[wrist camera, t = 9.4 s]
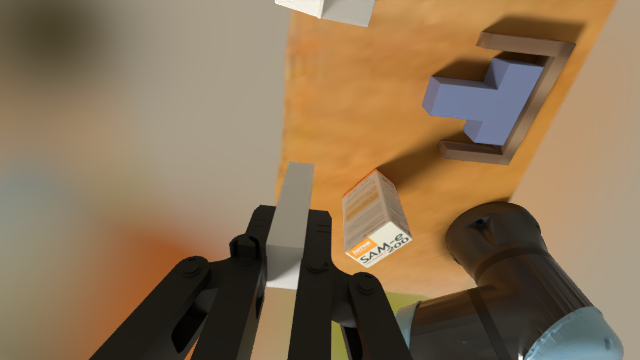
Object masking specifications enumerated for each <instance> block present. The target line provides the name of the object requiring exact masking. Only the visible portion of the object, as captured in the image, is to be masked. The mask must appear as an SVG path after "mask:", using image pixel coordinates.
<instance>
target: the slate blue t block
mask: <svg viewBox="0 0 640 360" xmlns="http://www.w3.org/2000/svg"><path fill="white" fill-rule="evenodd" d="M543 69H544V67H541V66H538V65H535V64H532V63H529V62H526V61H520V60H511V59H502V58H493V59H492V61H491V64H490V66H489V68H488V71H487V73H486V75H485V78H484V80H483V82H481V81H472V80H463V79H454V78H445V77H436V76H431V77H430V81H429V84H428V87H427V90H426V94H425V97H424V100H423V103H422V106H423V107H424V109H425V110H426V111H427V112H428V114H429V115H431V116H440V117H449V118H458V119H467V121H466V123H465V126H464V128H463V131H464V132H465V134H466V135H467V136H468V137H469V138H470V139H471V140H472V141H473V142H476V143H485V144H495V145H504V143H505V141H506V139H507V137H508V135H509V133H510V132H511V130H512V128H513V126H514V124H515V122H516V120H517V118H518V116H519V114H520V112H521V111H522V109H523V107H524V105H525V103H526V101H527V99H528V97H529V95H530V93H531V91H532V90H533V88H534V86H535V84H536V82H537V80H538V78H539V76H540V74H541V72H542V70H543Z"/></svg>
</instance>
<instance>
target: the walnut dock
mask: <svg viewBox="0 0 640 360" xmlns="http://www.w3.org/2000/svg"><path fill="white" fill-rule="evenodd" d="M477 46H480V47H483V48H486V49H492V50H501V51H509V52H518V53H527V54H536V55H538V56H537V58H536V60H535V62H534V64H535V65H538V66H541V67H544V69H543V70H542V72H541V74H540V76H539V78H538V80H537V82H536V84H535V86H534V88H533V90H532V91H531V93H530V95H529V97H528V99H527V101H526V103H525V105H524V107H523V109H522V111H521V112H520V114H519V116H518V118H517V120H516V122H515V124H514V126H513V128H512V130H511V132H510V133H509V135H508V137H507V139H506V141H505V143H504V145H495V144H493V146H490V145H480V144H471V143H462V142H453V141H443V140H440V143H439V146H438V148H437V149H438V151H439V152H440V154H441V155H442V157H443V158H444V159H453V160H462V161H472V162H481V163H490V164H500V165H509V163H510V161H511V159H512V158H513V156H514V154H515V152H516V151H517V149H518V147H519V145H520V143H521V142H522V140H523V138H524V136H525V135H526V133H527V131H528V129H529V127H530V126H531V124H532V122H533V120H534V119H535V117H536V115H537V113H538V111H539V110H540V108H541V106H542V104H543V103H544V101H545V99H546V97H547V95H548V94H549V92H550V90H551V88H552V87H553V85H554V83H555V81H556V79H557V78H558V76H559V74H560V72H561V71H562V69H563V67H564V65H565V63H566V62H567V60H568V58H569V56H570V55H571V53H572V51H573V49H574V47H575V46H576V44H575V43H569V42H564V41H558V40H549V39H541V38H532V37H523V36H514V35H505V34H497V33H488V32H481V34H480V37H479V39H478V42H477Z"/></svg>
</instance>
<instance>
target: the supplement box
mask: <svg viewBox="0 0 640 360" xmlns="http://www.w3.org/2000/svg"><path fill="white" fill-rule="evenodd" d="M342 201H343V223H344V244H345V254H347V255H348V256H350V257H352V258H353V259H355V260H356V261H358V262H359V263H360V264H362V265H364V266H365V267H367V268H369V267H370V266H372V265H373V264H375V263H376V262H378V261H379V260H381V259H383V258H384V257H386V256H387V255H389V254H390V253H392V252H394V251H395V250H397V249H398V248H400V247H402V246H403V245H405V244H406V243H408V242H409V241H411V240H413V238H412V235H411V232H410V229H409V226H408V223H407V220H406V217H405V215H404V211H403V209H402V206H401V203H400V200H399V197H398V194H397V191H396V188H395V185H394V183H393V182H391V181H390V180H389V179H388V178H386V177H385V176H384V175H383V174H382V173H381V172H379V171H378V170H377V169H374V170H373V171H372V172H371V173H370V174H368V175H367V176H366V177H365V178H364V179H362V180H361V181H360V182H359V183H358V184H357V185H355V186H354V187H353V188H352V189H351V190H350V191H348V192H347V193H346V194H345V195H344V196H343V197H342Z"/></svg>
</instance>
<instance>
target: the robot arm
mask: <svg viewBox="0 0 640 360" xmlns="http://www.w3.org/2000/svg"><path fill="white" fill-rule="evenodd" d="M313 172H314V164H306V163H296V162H289V165H288V168H287V172H286V175H285V179H284V182H283V186H282V189H281V193H280V196H279V200H278V203H277V207H276V206H266V205H260V206H259V207H257V208H256V209H255V210H254V212H253V214H252V217H251V220H250V222H249V225H248V227H247V230H246V232H245V234H241V235H238V236H237V237H235V238H234V239H232V241H231V242H230V243H229V246H230V254H231V257H230V258H227V259H225V260H221V261H215V262H208V261H207V259H205V258H204V257H201V256H193V257H188V258H186V259H183V260H182V261H180V262H179V263H178V264H177V265H176V266H175V267H174V268H173V269H172V270H171V272H169V274H168V275H167V276H166V277H165V278H164V279H163V280H162V281H161V282H160V283H159V284H158V285H157V286H156V287H155V289H154V290H153V291H152V292H151V293H150V294H149V295H148V296H147V297H146V298H145V299H144V300H143V302H142V303H141V304H140V305H139V306H138V307H137V308H136V309H135V310H134V311H133V312H132V313H131V315H130V316H129V317H128V318H127V319H126V320H125V321H124V322H123V323H122V324H121V325H120V326H119V328H117V330H116V331H115V332H114V333H113V334H112V335H111V336H110V337H109V338H108V339H107V341H105V343H104V344H103V345H102V346H101V347H100V348H99V349H98V350H97V351H96V352H95V353H94V354H93V356H92V357H91V358H90V359H89V360H184V359H185V357H186V356H187V354H188V353H189V351H190V350H191V348H192V347H193V345H194V343H195V342H196V340H197V339H198V337H199V339H198V341H197V344H196V346H195V349H194V351H193V354H192V356H191V359H190V360H250V357H251V353H252V349H253V345H254V341H255V336H256V332H257V328H258V324H259V319H260V315H261V310H262V306H263V302H264V290H265V286H266V282H267V286H268V287H277V288H288V289H297V293H296V301H295V308H294V315H293V324H292V330H291V338H290V346H289V352H288V359H287V360H331V320H333V321H335V322H337V323H339V324H340V326H341V330H342V334H343V338H344V342H345V346H346V350H347V354H348V358H349V360H622V358H623V353H624V352H623V351H624V350H623V345H622V343H621V341H620V339H619V338H618V336H617V335H616V334H615V332H614V331H613V330H612V329H611V327H610V326H609V325H608V323H607V322H606V321H605V320H604V318H603V314H602V313H601V312H600V311H599V310H598V309H597V308H596V307H594V305H593V304H592V303H591V302H590V301H589V300H588V298H587V297H586V296H585V295H584V294H583V293H582V292H581V290H580V289H579V288H578V287H577V286H576V285H575V283H574V282H573V281H572V280H571V279H570V277H569V276H568V275H567V274H566V273H565V272H564V270H563V269H562V268H561V267H560V266H559V265H558V263H557V262H556V261H555V260H554V259H553V258H552V256H551V255H550V254H549V253H548V250H547V248H546V245H545V242H544V240H543V238H542V236H541V231H540V227H539V224H538V223H537V221H536V220H535V218H534V217H533V216H532V215H531V214H530V213H529V212H528V211H527V210H526V209H524V208H523V207H521V206H519V205H516V204H513V203H506V202H497V203H489V204H485V205H481V206H478V207H476V208H473V209H471V210H469V211H467V212H465V213H464V214H462V215H461V216H460V217H458V218H457V219H456V220H455V221H454V222H453V223H452V225H451V226H450V228H449V229H448V231H447V234H446V245H447V247H448V250H449V252H450V254H451V256H452V257H453V259H454V260H455V261H456V262H457V263H458V264H460V265H461V266H462V267H463V268H464V269H465V271H466V272H467V273H468V274H469V275H470V276H471V277H472V278H473V279H474V280H475V282H476V284H477V286H478V287H476V288H472V289H468V290H464V291H460V292H456V293H453V294H449V295H445V296H441V297H438V298H434V299H430V300H426V301H418V302H416V303H415V304H412V305H409V306H406V307H403V308H401V309H399V310H398V311H397V313H396V314H395V316H394V313H393V311H392V309H391V306H390V304H389V301H388V299H387V297H386V294H385V292H384V290H383V287H382V285H381V283H380V282H379V280H378V279H377V278H376V277H375V276H373V275H372V274H369V273H367V272H359V273H355V274H354V275H353V276H352V275H349V274H347V273H344V272H342V271H341V270H339V269H338V268H337V267H336V266H335V265H334V264H333V262H332V259H331V231H332V218H331V216H330V214H329V212H328V211H321V210H311V209H310V203H311V193H312V183H313Z"/></svg>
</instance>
